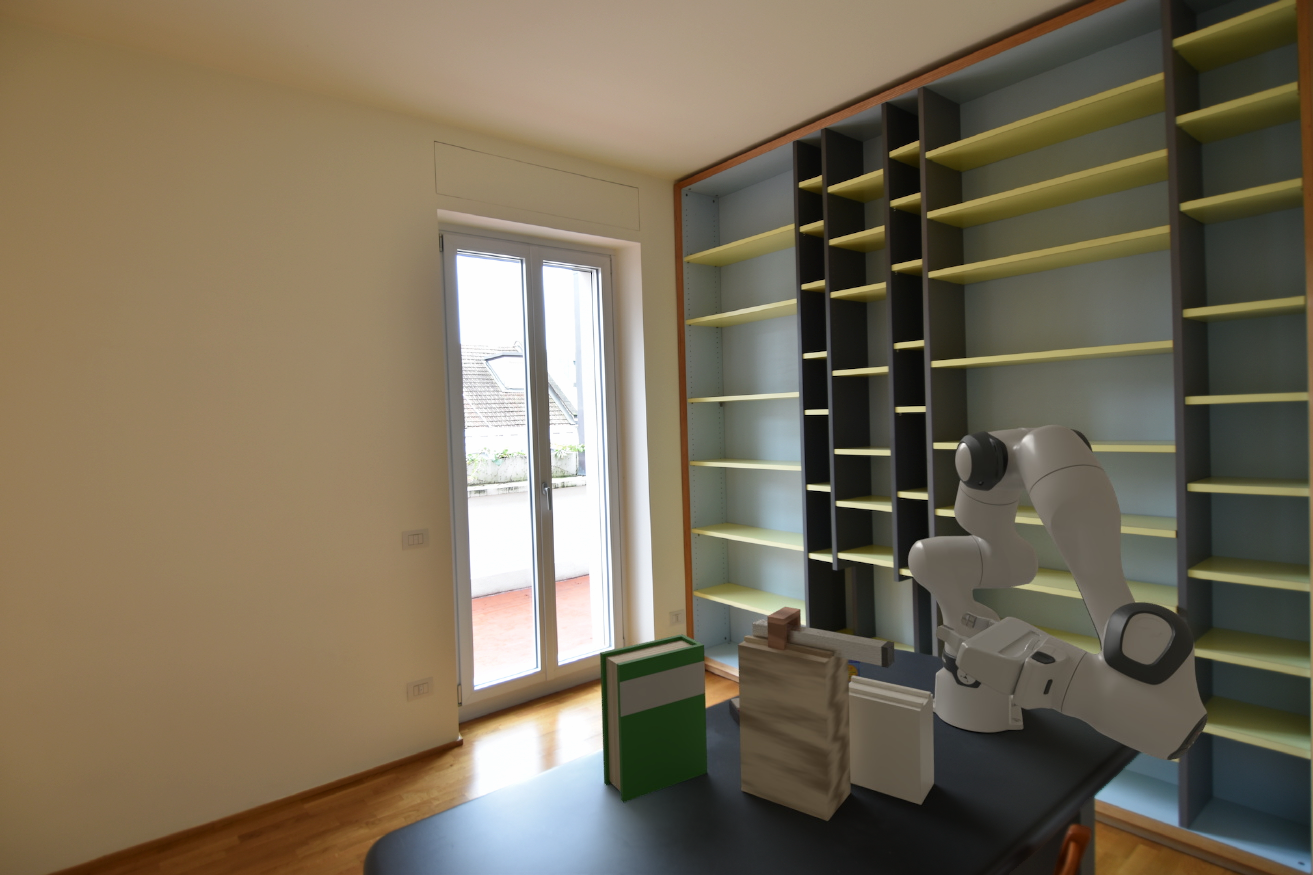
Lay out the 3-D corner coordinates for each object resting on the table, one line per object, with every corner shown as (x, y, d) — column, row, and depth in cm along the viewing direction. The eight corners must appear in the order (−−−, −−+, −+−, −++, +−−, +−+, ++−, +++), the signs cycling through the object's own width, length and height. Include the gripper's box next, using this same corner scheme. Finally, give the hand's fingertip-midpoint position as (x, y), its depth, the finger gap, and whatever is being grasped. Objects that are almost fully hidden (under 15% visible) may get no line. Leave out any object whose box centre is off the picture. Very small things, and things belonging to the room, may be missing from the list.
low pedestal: (856, 760, 129) (855, 673, 128) (934, 783, 121) (932, 689, 120) (840, 779, 123) (838, 687, 122) (921, 804, 114) (919, 706, 114)
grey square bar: (761, 635, 124) (760, 618, 124) (894, 661, 109) (894, 641, 109) (752, 640, 121) (752, 622, 121) (887, 667, 107) (887, 647, 107)
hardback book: (623, 802, 117) (619, 664, 116) (604, 783, 124) (600, 652, 123) (707, 772, 126) (704, 644, 125) (685, 755, 133) (682, 634, 132)
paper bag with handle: (767, 765, 128) (764, 600, 127) (850, 792, 118) (847, 613, 117) (741, 790, 120) (737, 614, 119) (827, 820, 110) (824, 629, 109)
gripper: (1078, 633, 99) (982, 592, 108) (1036, 668, 84) (929, 616, 93) (1064, 672, 100) (970, 628, 109) (1020, 713, 85) (916, 658, 95)
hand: (951, 623), depth 101 cm, fingers open, 8 cm apart
